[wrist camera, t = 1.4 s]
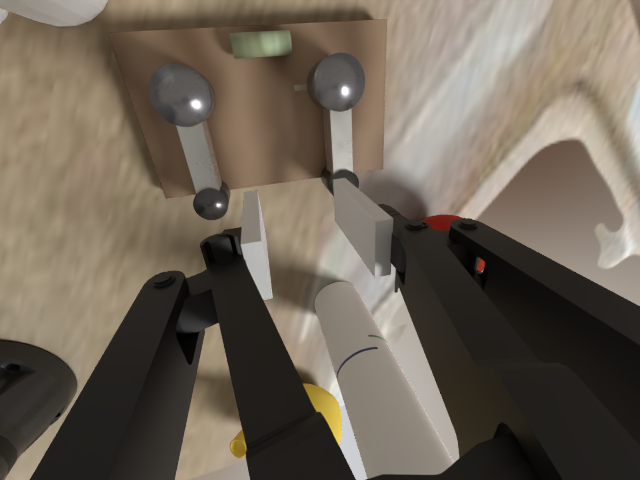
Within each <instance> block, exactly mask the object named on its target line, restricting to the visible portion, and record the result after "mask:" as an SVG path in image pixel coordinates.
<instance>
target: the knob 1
mask: <svg viewBox="0 0 640 480" xmlns="http://www.w3.org/2000/svg"><path fill="white" fill-rule="evenodd" d="M149 96H150V99H151V102H152V104H153V106H154V108H155V109H156V111H157V112H158V113H159V115H160V116H161V117H162V118H164V119H165V120H166V121H168V122H169V123H171V124H174V125H176V127H177V130H178V133H179V137H180V140H181V143H182V147H183V150H184V153H185V157H186V160H187V164H188V167H189V170H190V174H191V177H192V180H193V184H194V187H195V190H196V196H195V198H194V201H193V206H194V209H195V211H196V213H197V214H198V215H199V216H201V217H202V218H204V219H207V220H216V219H219V218H221V217H223V216H224V215H225V213H226V211H227V208H228V203H229V198H230V189H229V187H228V185H227V184H226V183H225V182H224V181H222V180H221V177H220V173H219V169H218V165H217V161H216V157H215V153H214V149H213V144H212V140H211V136H210V132H209V128H208V124H207V119H208V118H209V117H210V116H211V115H212V114H213V112H214V110H215V106H216V96H215V92H214V89H213V87H212V85H211V84H210V82H209V81H208V80H207V79H206V78H205V77H204V76H203V75H202V74H200V73H199V72H197V71H195V70H193V69H191V68H189V67H186V66H184V65H181V64H166V65H163V66H161V67H160V68H158V69H157V70H156V71H155V72H154V73H153V75H152V77H151V79H150V82H149Z"/></svg>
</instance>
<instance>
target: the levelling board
mask: <svg viewBox="0 0 640 480" xmlns="http://www.w3.org/2000/svg"><path fill="white" fill-rule="evenodd" d="M107 34H108V36H109V39H110V42H111V45H112V48H113V50H114V53H115V56H116V59H117V62H118V65H119V67H120V70H121V73H122V76H123V79H124V82H125V84H126V87H127V90H128V93H129V96H130V98H131V101H132V104H133V107H134V110H135V113H136V115H137V118H138V121H139V124H140V127H141V130H142V132H143V135H144V138H145V141H146V144H147V147H148V149H149V152H150V155H151V158H152V161H153V163H154V166H155V169H156V172H157V175H158V178H159V180H160V183H161V186H162V189H163V192H164V195H165V197H166V198H173V197H180V196H187V195H195V194H196V190H195V187H194V184H193V180H192V177H191V174H190V170H189V167H188V164H187V160H186V157H185V153H184V150H183V147H182V143H181V140H180V137H179V133H178V130H177V127H176V125H174V124H171V123H169V122H168V121H166V120H165V119H164V118H162V117H161V116H160V115H159V113H158V112H157V111H156V109H155V108H154V106H153V104H152V102H151V99H150V96H149V82H150V79H151V77H152V75H153V73H154V72H155V71H156V70H157V69H158V68H160V67H161V66H163V65H166V64H181V65H184V66H186V67H189V68H191V69H193V70H195V71H197V72H199V73H200V74H202V75H203V76H204V77H205V78H206V79H207V80H208V81H209V82H210V84H211V85H212V87H213V89H214V92H215V96H216V106H215V110H214V112H213V114H212V115H211V116H210V117H209V118H208V119H207V124H208V128H209V132H210V136H211V140H212V144H213V149H214V153H215V157H216V161H217V165H218V169H219V173H220V177H221V180H222V181H224V182H225V183H226V184H227V185H228V187H229V189H230V190H231V189H238V188H245V187H253V186H260V185H267V184H275V183H282V182H289V181H296V180H304V179H311V178H318V177H321V174H322V171H323V169H324V168H325V167H326V155H325V140H324V125H323V110H322V108H320V107H318V106H317V105H315V104H314V103H313V101H312V100H311V98H310V96H309V94H308V89H307V79H308V75H309V73H310V70H311V69H312V67H313V66H314V65H315V64H316V63H317V62H319V61H321V60H322V59H324V58H326V57H328V56H330V55H332V54H335V53H347V54H350V55H352V56H353V57H355V58H356V59H357V60H358V61H359V63H360V64H361V66H362V68H363V71H364V74H365V88H364V92H363V95H362V97H361V99H360V100H359V102H358V103H357V104H356V105H355V106H354V107H352V108H351V110H352V155H353V173H354V172H362V171H369V170H376V169H383V146H384V111H385V75H386V40H387V19H381V20H360V21H339V22H318V23H297V24H276V25H255V26H235V27H214V28H193V29H172V30H151V31H130V32H109V33H107Z"/></svg>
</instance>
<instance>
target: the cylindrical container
mask: <svg viewBox="0 0 640 480" xmlns="http://www.w3.org/2000/svg"><path fill="white" fill-rule="evenodd" d="M314 305H315V310H316V313H317V316H318V319H319V323H320V326H321V329H322V332H323V336H324V339H325V342H326V345H327V348H328V352H329V355H330V358H331V361H332V365H333V368H334V371H335V374H336V378H337V380H338V384H339V387H340V390H341V394H342V397H343V400H344V403H345V407H346V410H347V413H348V416H349V420H350V423H351V426H352V429H353V432H354V436H355V439H356V442H357V446H358V449H359V452H360V455H361V458H362V462H363V465H364V468H365V471H366V475H367V478H368V479H369V478H372V477H376V476H379V475H382V474H407V475H437V474H440V473H442V472H444V471H445V470H446V469H447V468H449V467H450V466H451V465H452V464H453V463H454V461H453V460H452V458H451V456H450V454H449V452H448V451H447V449H446V447H445V445H444V443H443V441H442V440H441V438H440V436H439V434H438V433H437V431H436V429H435V427H434V425H433V424H432V422H431V420H430V418H429V416H428V415H427V413H426V411H425V409H424V408H423V406H422V404H421V402H420V400H419V399H418V397H417V395H416V393H415V391H414V390H413V388H412V386H411V384H410V383H409V381H408V379H407V377H406V375H405V374H404V372H403V370H402V368H401V366H400V365H399V363H398V361H397V359H396V357H395V356H394V354H393V352H392V350H391V348H390V347H389V345H388V343H387V341H386V340H385V338H384V336H383V334H382V332H381V331H380V329H379V327H378V325H377V324H376V322H375V320H374V318H373V316H372V315H371V313H370V311H369V309H368V308H367V306H366V304H365V302H364V300H363V299H362V297H361V295H360V293H359V292H358V290H357V288H356V287H355V286H354V285H352V284H351V283H348V282H334V283H331V284H329V285H327V286H325V287H324V288H323V289H322V290H321V291H320V292H319V293H318V294H317V296H316V299H315V304H314Z"/></svg>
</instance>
